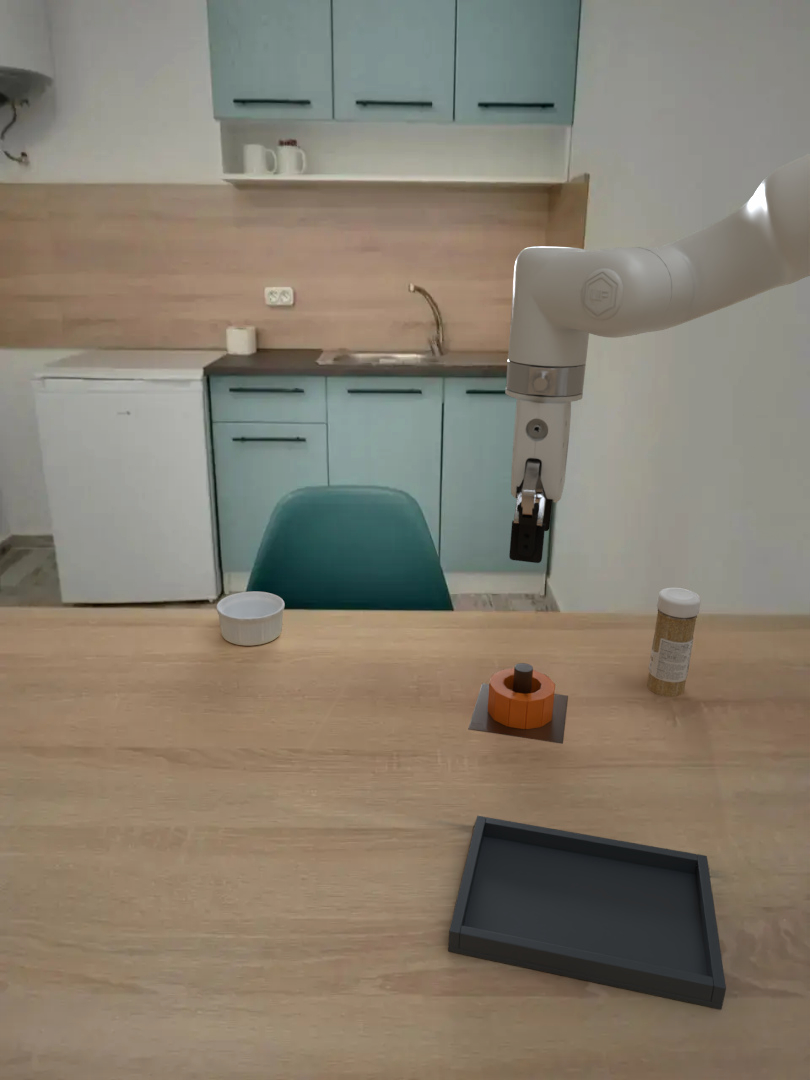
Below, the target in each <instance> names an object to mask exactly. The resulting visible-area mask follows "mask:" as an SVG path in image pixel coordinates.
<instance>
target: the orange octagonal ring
mask: <svg viewBox="0 0 810 1080" xmlns="http://www.w3.org/2000/svg"><path fill="white" fill-rule="evenodd" d="M513 679H514V667H512V668H511V667H510V668H505V669H504V668H503V669H501V670H499V671H497V672H495V673H493V674H492V675H491V676H490V679H489V683H488V684H489V697H488V712H489V714H490V715H491V717H492V718H493V719H494V720H495V721H497V722H499V723H501V724H503V725H505V726H507V727H512V728H519V729H532V728H539V727H542V726H544V725H545V724H547V723H548V722H550V721H551V720H552V713H553V703H554V694H556V684H555V682H554V681H553V680H552V679H551V678H550V676H549V675H547V674H545V673H542V672H539V671H537V670H535V669H533V675H532V686H531V693H528V694H523V693H516V692H513Z"/></svg>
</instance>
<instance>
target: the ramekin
mask: <svg viewBox="0 0 810 1080" xmlns="http://www.w3.org/2000/svg"><path fill="white" fill-rule="evenodd" d="M285 606H286V605H285V601H284V600H283V598H282V597H281V596H279V595H277V594H274V593H270V592H266V591H253V590H252V591H242V592H237V593H232V594H230V595H227V596H225V597H223V598H222V599H220V600H219V601H218V602H217V604H216V612H217V614H218V621H219V627H220V634H221V636H222V638H223V639H224V640H225V641H227V642H228V643H230V644H233V645H238V646H245V647H246V646H247V647H248V646H261V645H264V644H265V645H266V644H268V643H270V642H272V641H274V640H277V638H278V637H279V636H280V635H281V634H282V631H283V617H284V611H285Z"/></svg>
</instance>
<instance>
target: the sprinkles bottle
mask: <svg viewBox="0 0 810 1080" xmlns="http://www.w3.org/2000/svg"><path fill="white" fill-rule="evenodd" d="M656 601H657V602H656V609H657V614H656V621H655V627H654V634H653V637H652V641H651V642H652V643H651V644H652V645H651V650H650V657H649V662H648V663H649V664H648V675H647V681H646V687H647V688H648V690H649V691H651V692H652V693H654V694H656V695H657V696H658V695H659V696H661V697H668V698H675V697H679V696H681V695H683V694H684V692H685V688H686V682H687V678H688V674H689V668H690V661H691V656H692V650H693V646H694V645H693V644H694V638H695V637H694V635H695V628H696V621H697V618H698V615H699V614H700V609H701V608H700V607H701V597H700V595H698V593H696V592H695V591H693V590H690V589H686V588H682V587H666V588H663V589H661V590H660V591H659V592H658V596H657V600H656Z"/></svg>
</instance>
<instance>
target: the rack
mask: <svg viewBox="0 0 810 1080" xmlns="http://www.w3.org/2000/svg"><path fill="white" fill-rule="evenodd" d="M513 668H514V679H513V692H516V693H523V694H528V693H531V686H532V675H533V670H534V666H532V665H531V664H529V663H525V662H520V663H516V664H514V667H513ZM488 697H489V683H483V682H482V683H481V686H480V688H479V693H478V695H477V698H476V701H475V706H474V708H473V711H472V714H471V717H470V722H469V725H468V730H469V731H470V730H471V731H476V732H482V733H488V734H496V735H502V736H508V737H516V738H521V739H528V740H529V739H530V740H535V741H541V742H548V743H554V744H561V745H563V744H564V739H565V738H564V737H565V731H566V730H565V729H566V721H567V720H566V718H567V711H568V701H569V695H567V694H560V693H554V703H553V713H552V720H551V721H550V722H548V723H547V724H545V725H544V726H542V727H539V728H532V729H519V728H512V727H507V726H505V725H503V724H501V723H499V722H497V721H495V720H494V719H493V718H492V717H491V715H490V714H489V712H488Z"/></svg>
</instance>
